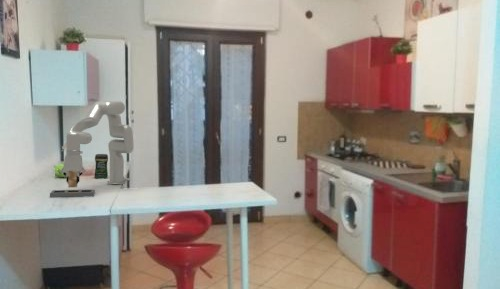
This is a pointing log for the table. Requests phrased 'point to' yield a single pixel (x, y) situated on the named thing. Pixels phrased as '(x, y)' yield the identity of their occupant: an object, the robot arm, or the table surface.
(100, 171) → the coffee jar
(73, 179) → the oak peg
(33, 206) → the table surface
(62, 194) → the dark grey divided tray
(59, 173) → the green lumpy round mass
